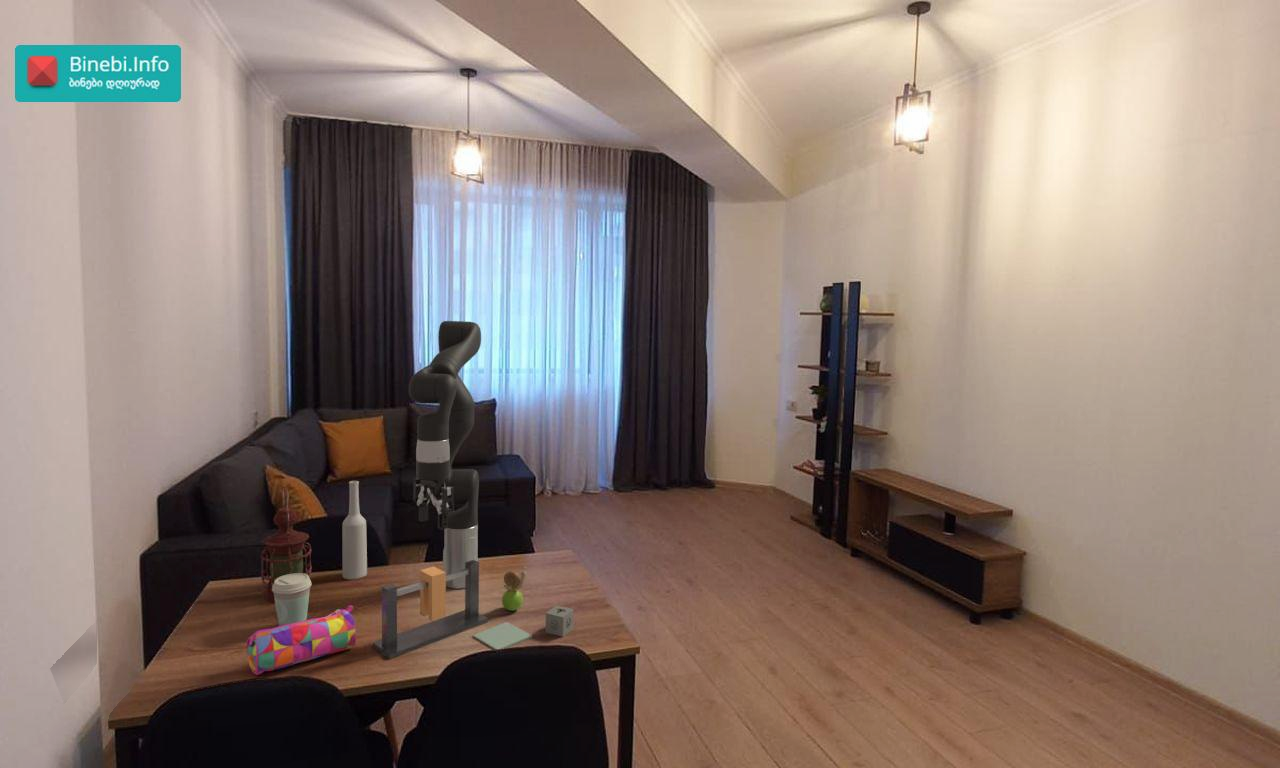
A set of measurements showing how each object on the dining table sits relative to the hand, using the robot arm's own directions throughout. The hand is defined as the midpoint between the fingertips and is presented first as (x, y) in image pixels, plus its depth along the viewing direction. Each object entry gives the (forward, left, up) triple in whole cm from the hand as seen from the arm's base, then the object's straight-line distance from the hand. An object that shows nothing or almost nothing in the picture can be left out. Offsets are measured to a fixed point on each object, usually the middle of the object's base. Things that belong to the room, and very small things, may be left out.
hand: (433, 524), depth 157 cm
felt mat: (+13, +11, -27) cm, 32 cm away
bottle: (-48, +3, -27) cm, 55 cm away
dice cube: (+20, +23, -27) cm, 41 cm away
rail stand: (0, 0, -27) cm, 27 cm away
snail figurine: (+3, +22, -27) cm, 35 cm away
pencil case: (-10, -26, -27) cm, 39 cm away
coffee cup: (-27, -22, -27) cm, 44 cm away
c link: (0, 0, -22) cm, 22 cm away
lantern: (-47, -16, -27) cm, 57 cm away
